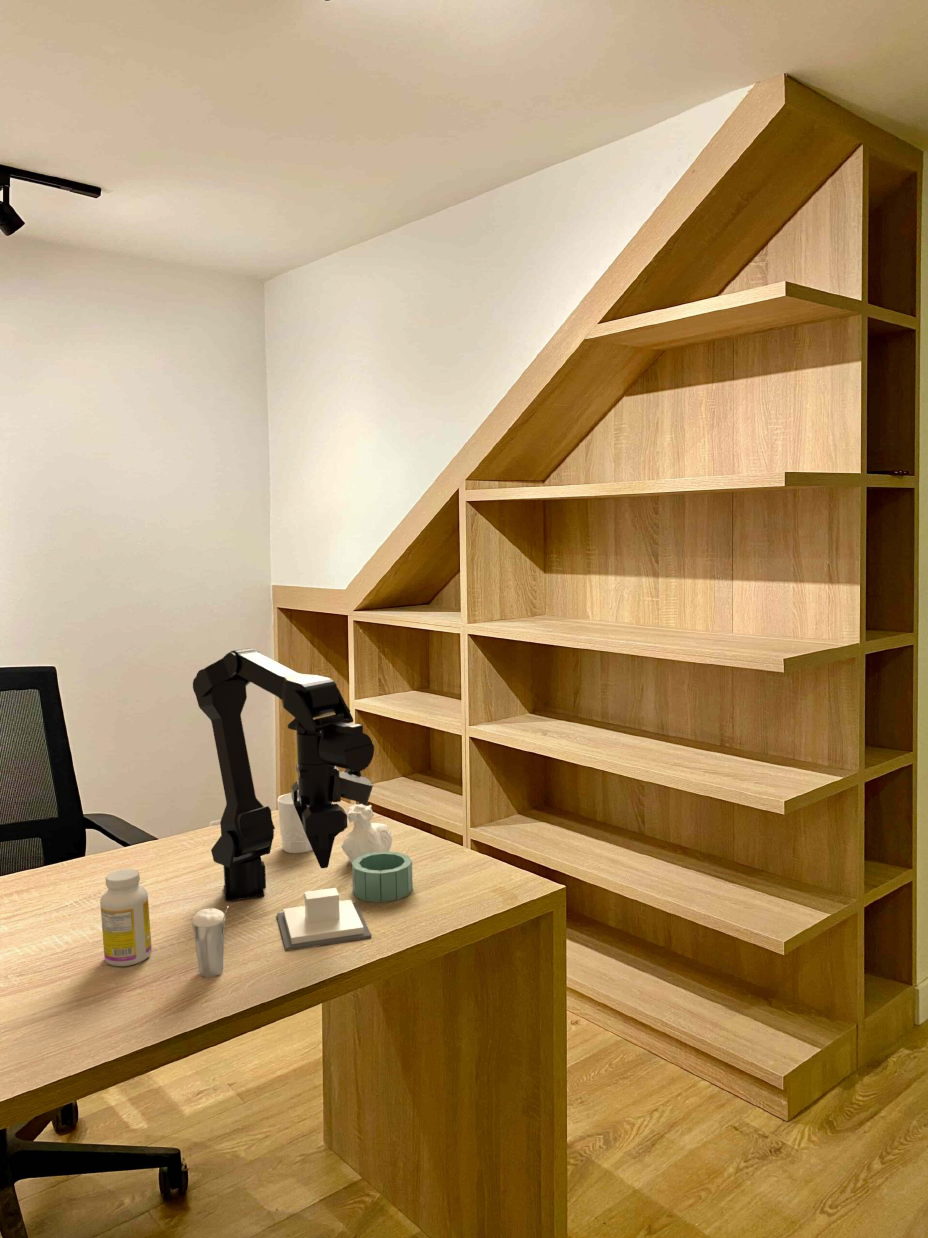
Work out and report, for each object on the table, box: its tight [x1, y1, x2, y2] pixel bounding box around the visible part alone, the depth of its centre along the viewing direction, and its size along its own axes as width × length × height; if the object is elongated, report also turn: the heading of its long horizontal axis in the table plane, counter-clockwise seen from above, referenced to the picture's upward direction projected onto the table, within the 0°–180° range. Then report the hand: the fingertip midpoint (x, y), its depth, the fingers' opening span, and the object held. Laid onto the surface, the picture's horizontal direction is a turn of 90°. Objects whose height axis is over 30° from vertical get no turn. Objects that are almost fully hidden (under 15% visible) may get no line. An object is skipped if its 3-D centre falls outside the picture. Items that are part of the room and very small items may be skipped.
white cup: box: [277, 792, 313, 854], centre depth 184 cm, size 8×8×10 cm
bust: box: [341, 803, 393, 864], centre depth 178 cm, size 12×8×11 cm
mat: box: [276, 902, 372, 951], centre depth 149 cm, size 13×13×1 cm
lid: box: [283, 887, 364, 944], centre depth 149 cm, size 11×11×5 cm
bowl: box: [351, 851, 414, 903], centre depth 163 cm, size 10×10×5 cm
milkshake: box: [191, 906, 230, 978], centre depth 135 cm, size 5×5×10 cm
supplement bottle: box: [99, 868, 153, 967], centre depth 140 cm, size 7×7×13 cm
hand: (319, 857), depth 148 cm, fingers open, 9 cm apart
